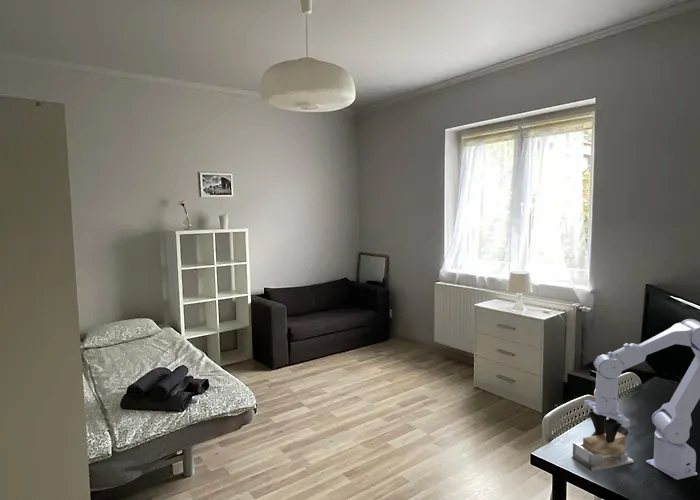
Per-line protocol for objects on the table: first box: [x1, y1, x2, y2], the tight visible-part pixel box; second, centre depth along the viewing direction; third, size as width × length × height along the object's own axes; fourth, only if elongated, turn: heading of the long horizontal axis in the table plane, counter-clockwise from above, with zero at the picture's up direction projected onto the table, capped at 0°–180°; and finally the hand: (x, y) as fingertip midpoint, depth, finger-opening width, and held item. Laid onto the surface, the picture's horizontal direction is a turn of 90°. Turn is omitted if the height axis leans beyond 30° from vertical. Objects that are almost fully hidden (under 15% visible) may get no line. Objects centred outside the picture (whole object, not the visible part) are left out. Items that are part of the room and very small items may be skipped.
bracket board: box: [571, 441, 634, 473], centre depth 131 cm, size 15×8×5 cm, turn 106°
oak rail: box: [582, 432, 627, 456], centre depth 132 cm, size 13×3×5 cm, turn 106°
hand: (605, 438), depth 131 cm, fingers open, 3 cm apart
